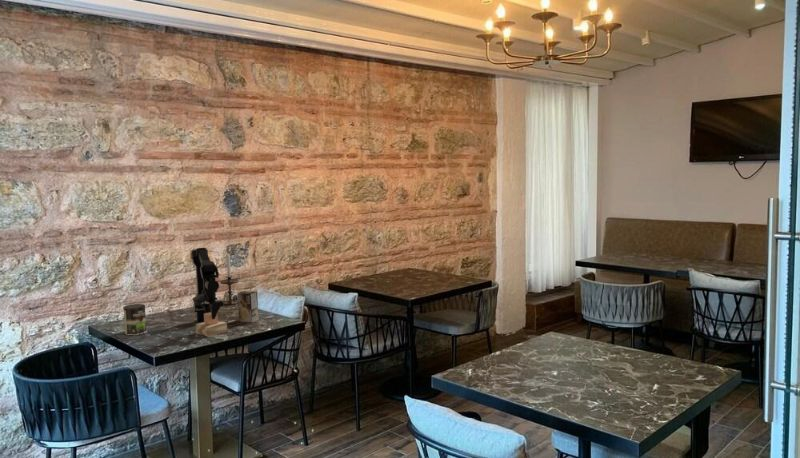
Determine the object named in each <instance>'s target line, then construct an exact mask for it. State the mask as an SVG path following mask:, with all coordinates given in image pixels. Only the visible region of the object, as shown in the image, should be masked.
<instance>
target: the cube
mask: <svg viewBox="0 0 800 458" xmlns="http://www.w3.org/2000/svg"><path fill="white" fill-rule="evenodd" d="M218 317H219V316H218V314H217V315H216V317H215V319H212V315H211V312H210V313H205V314H204V323H205V324H207V325H211V324H216V323H218V321H219V320H218V319H219V318H218Z"/></svg>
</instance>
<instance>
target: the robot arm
mask: <svg viewBox="0 0 800 458" xmlns="http://www.w3.org/2000/svg"><path fill="white" fill-rule="evenodd" d="M190 260H191V261H192V264H193V265H194V266H195V279H196V295H195V296H194V297H192V301H193V303H192V304H193V305H192V311H193V313H196V320H194V322H195V323H196V324H199V323H203V322H204V314H205V313H210V312H211V315H212V319H215V317H216V315H218V313H219V310H220V308H221V307H224V306H225V305H224V302H225V301H223V300H220V299H218V297H217V295H216V294H217V292H218V290H219V289H220V282H218V281H217V279H218V278H219V276H220V273H219V269H218V267H217V265H216V264H215V262H214V261H212V260H211V259H210V257H209V251H208V249H207V247H198V248H195V249H194V250H191V252H190ZM216 278H217V279H216Z"/></svg>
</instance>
